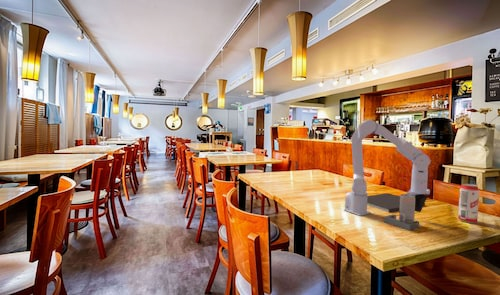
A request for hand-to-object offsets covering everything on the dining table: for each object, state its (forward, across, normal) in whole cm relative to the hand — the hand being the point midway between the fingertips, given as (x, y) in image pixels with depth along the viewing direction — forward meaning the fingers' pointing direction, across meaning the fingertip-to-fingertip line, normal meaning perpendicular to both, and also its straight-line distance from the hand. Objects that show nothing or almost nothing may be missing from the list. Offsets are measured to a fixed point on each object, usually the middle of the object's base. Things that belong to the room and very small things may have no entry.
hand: (417, 211), depth 107 cm
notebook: (+5, +14, +22) cm, 26 cm away
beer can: (+4, +18, -11) cm, 22 cm away
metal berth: (+4, -12, 0) cm, 13 cm away
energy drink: (+4, -9, 0) cm, 10 cm away
